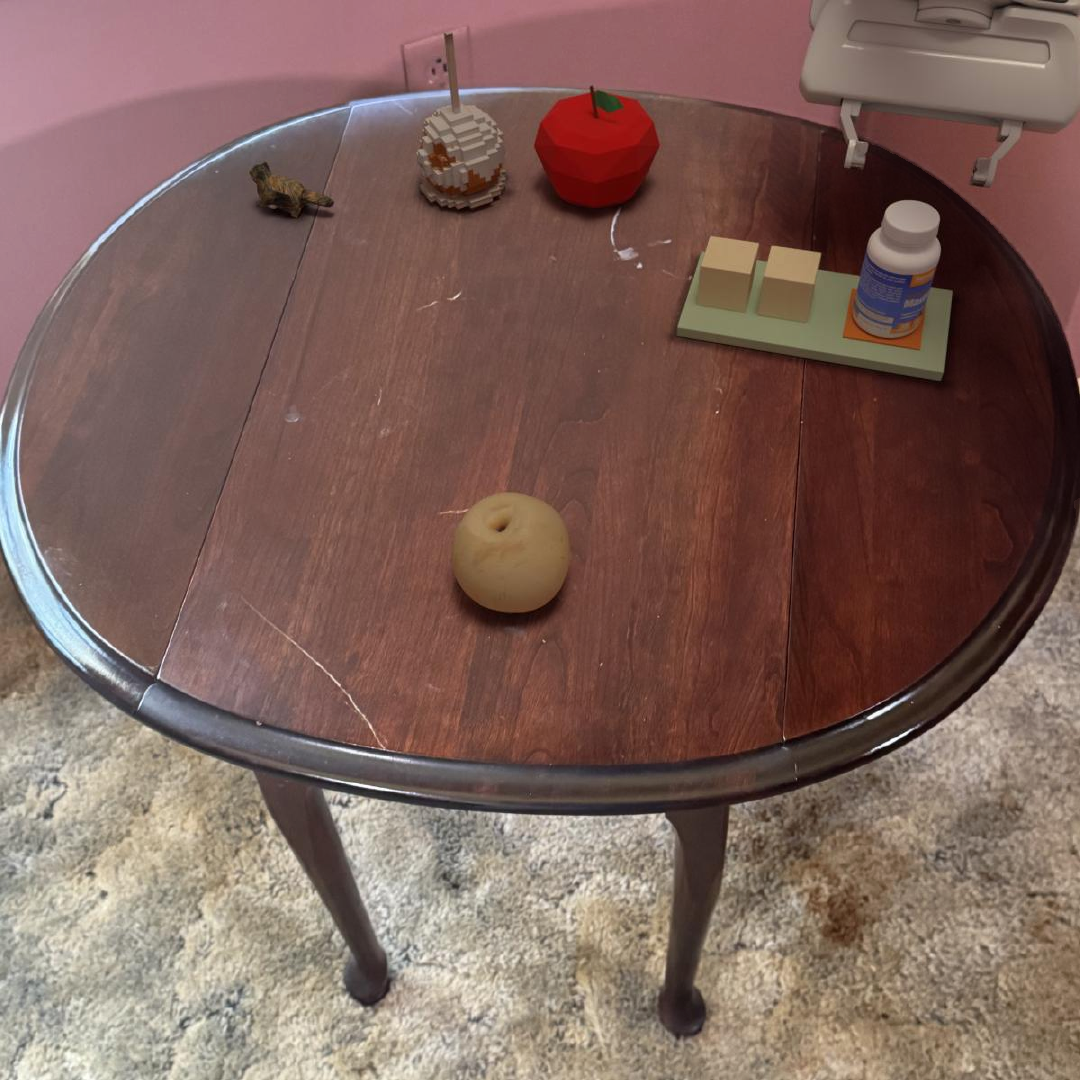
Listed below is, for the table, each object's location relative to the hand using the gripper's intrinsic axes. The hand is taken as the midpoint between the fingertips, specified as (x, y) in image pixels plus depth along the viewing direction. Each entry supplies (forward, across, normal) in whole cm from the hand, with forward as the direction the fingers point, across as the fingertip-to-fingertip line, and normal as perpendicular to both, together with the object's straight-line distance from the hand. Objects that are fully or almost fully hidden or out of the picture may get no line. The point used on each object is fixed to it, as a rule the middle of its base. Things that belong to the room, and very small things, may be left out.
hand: (916, 176), depth 84 cm
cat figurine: (+9, -53, +7) cm, 54 cm away
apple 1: (+34, -21, -18) cm, 44 cm away
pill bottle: (+10, 0, +4) cm, 11 cm away
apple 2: (+2, -27, +14) cm, 31 cm away
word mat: (+11, -5, +4) cm, 13 cm away
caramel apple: (+4, -39, +12) cm, 41 cm away
